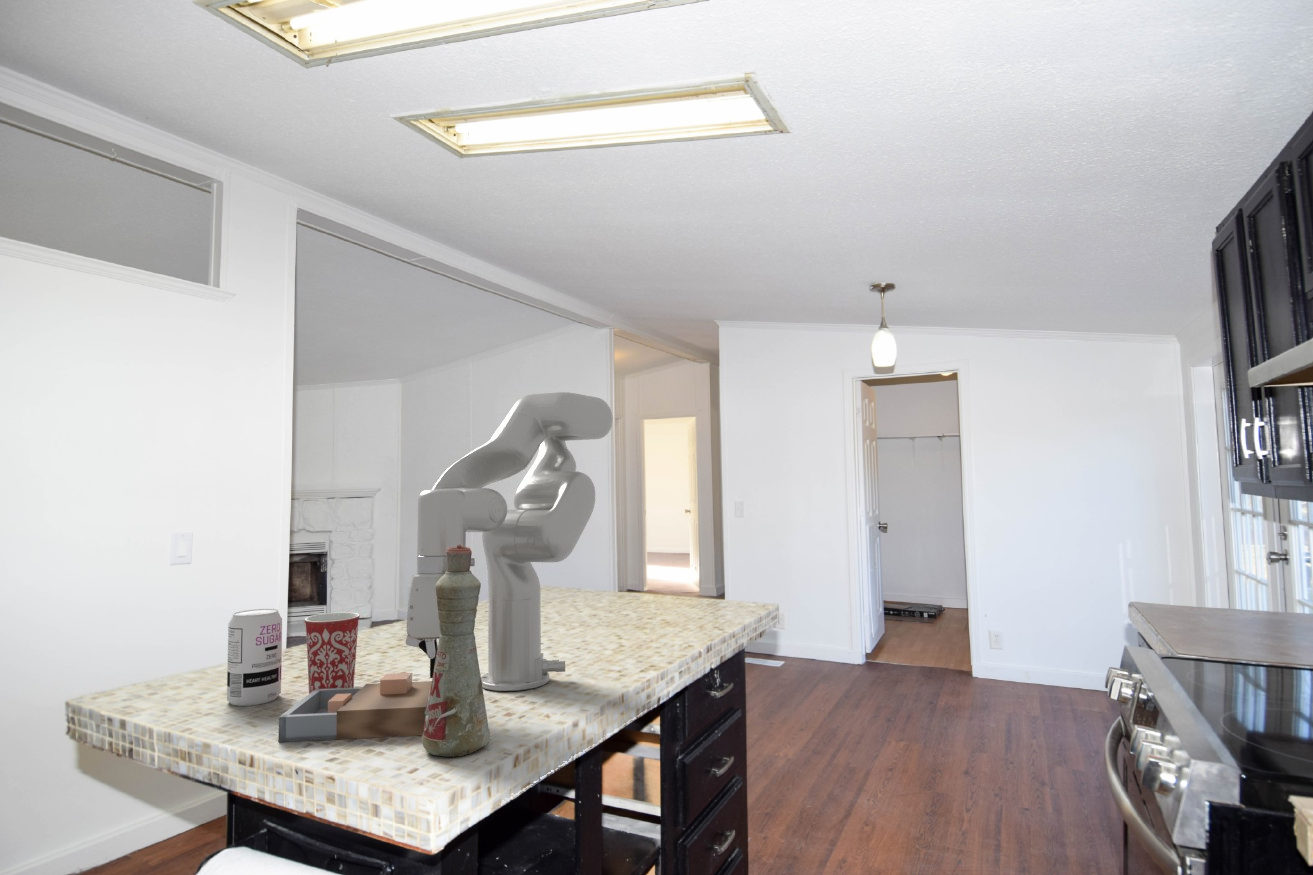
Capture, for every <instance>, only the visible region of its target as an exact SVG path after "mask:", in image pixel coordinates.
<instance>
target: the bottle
mask: <svg viewBox="0 0 1313 875" xmlns="http://www.w3.org/2000/svg"><path fill="white" fill-rule="evenodd" d="M472 553H473V552H472V550H471V548H470V547H462V546H461V545H460V544H459V545H457V548H448V549H447V551H446V554H447V571H446V572H445V574H444V575H443V576H442V577H441V578H440V579H439V580H438V582H437V583H436V585H435V589H436V596H437V607H438V618H439V621H440V622H439V627H440V633H441V634H440V637H439V639H438V642H437V644H438V649H437V654H436V660H435V666H434V672H433V678H431V681H432V684H431V689H430V692H429V698H428V704H427V708H426V711H425V714H426V717H425V725H424V732H423V735H421V744H422V746H423V748H424V749H425V752H428V754H430V755H432V756H435V757H436V756H439V757H445V758H450V757H464V756H466V755H468V754H472V753H474V752H476V751H478V750H479V749H481V748H483V747H485V746H486V745H487V744H488V743H489V742H490V740H491V733H490V727H489V721H488V715H487V709H486V708H487V707H486V701H485V694H484V688H483V687H482V680H481V677H482V675H481V669H480V666H479V665H480V663H479V657H478V649H477V643H476V636H475V632H474V631H475V626H476V617H477V612H478V606H479V598H480V597H479V596H480V593H481V586H482V583H481V581H480V580H479V579H478V578H477V577H476V576H475V575H474V574H473V572H472V571H471V570H470V569H471V566H470V565H471V558H472Z"/></svg>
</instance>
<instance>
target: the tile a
mask: <svg viewBox="0 0 1313 875" xmlns="http://www.w3.org/2000/svg"><path fill="white" fill-rule="evenodd" d="M350 698H351V693H349V694H336V695H335V696H334V697H333V698H331V699H330V700H329V701H328V713H337V710H338V709H339V708H341V707H342V706H343V705H344V704H345V703H346V702H347V701H348V700H349V699H350Z"/></svg>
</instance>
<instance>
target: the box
mask: <svg viewBox="0 0 1313 875" xmlns="http://www.w3.org/2000/svg"><path fill="white" fill-rule="evenodd" d="M362 687H363V686H360V687H359V686H357V687H355V686H354V688H331V689H315V690H314V691H313V692H311V693H310V694H309V693H308V694H307V695H306V696H304V697H303V698H302V699H300V700H299V701H298V702H297V703H295V704H294V705H293V706H291V707H290V708H289V709H288V710H286V711H285V712H283V713H282V714H281V715H280V716H279V717H278V736H277V738H278V743H288V742H292V743H293V742H307V741H310V742H311V741H331V740H337V739H336V731H337V713H328V701H329V700H330V699H331V698H333V697H334V696H335V695H336V694H349V693H351V697H353V696H354V695H355V694H356V693H357V692H358V691H359V690H360V689H361V688H362Z"/></svg>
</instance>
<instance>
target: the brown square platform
mask: <svg viewBox="0 0 1313 875" xmlns="http://www.w3.org/2000/svg"><path fill="white" fill-rule="evenodd" d="M431 684H432V680H428V681H427V680H425V681H424V680H423V681H412V687H411V689H410V690H409V691H408V692H407V693H404V694H381V695H380V682H379V683H366V684H364V685H363V686H361V687H362V688H361V689H360V690H359V691H358V692H357V693H356V694H355V695H354V696H353V697H351V698H350V699H349V700H348V701H347V702H346V703H345V704H344V705H343V706H342V707H341V708H339V709H338V710H337V731H336V739H335V740H348V739H350V740H351V739H369V738H370V739H371V738H389V737H393V738H395V737H410V736H411V737H412V736H423V732H424V725H425V717H426V714H425V711H426V708H427V704H428V698H429V692H430V689H431Z"/></svg>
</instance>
